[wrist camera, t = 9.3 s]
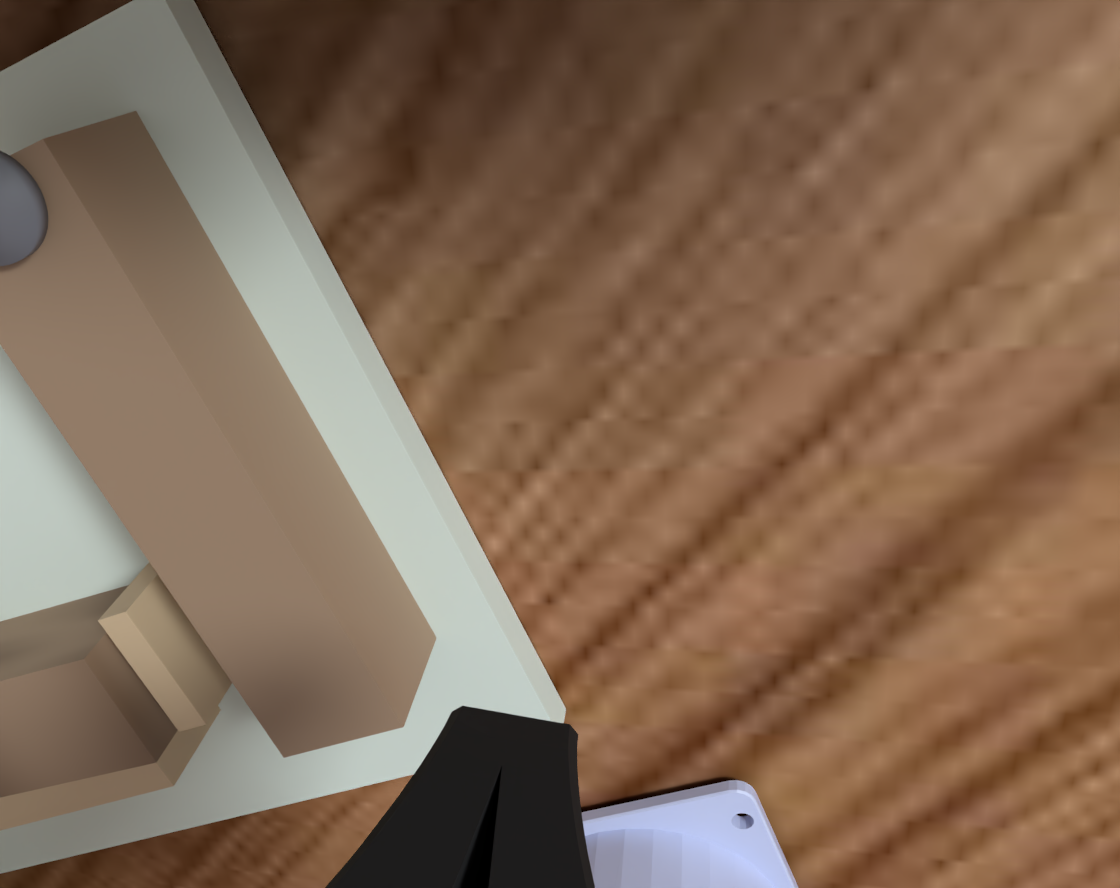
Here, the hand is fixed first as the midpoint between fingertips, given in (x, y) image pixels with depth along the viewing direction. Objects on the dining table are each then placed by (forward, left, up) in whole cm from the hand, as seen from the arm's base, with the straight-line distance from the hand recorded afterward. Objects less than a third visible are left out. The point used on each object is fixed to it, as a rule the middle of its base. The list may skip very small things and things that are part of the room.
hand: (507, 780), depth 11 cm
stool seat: (+2, +15, -10) cm, 18 cm away
